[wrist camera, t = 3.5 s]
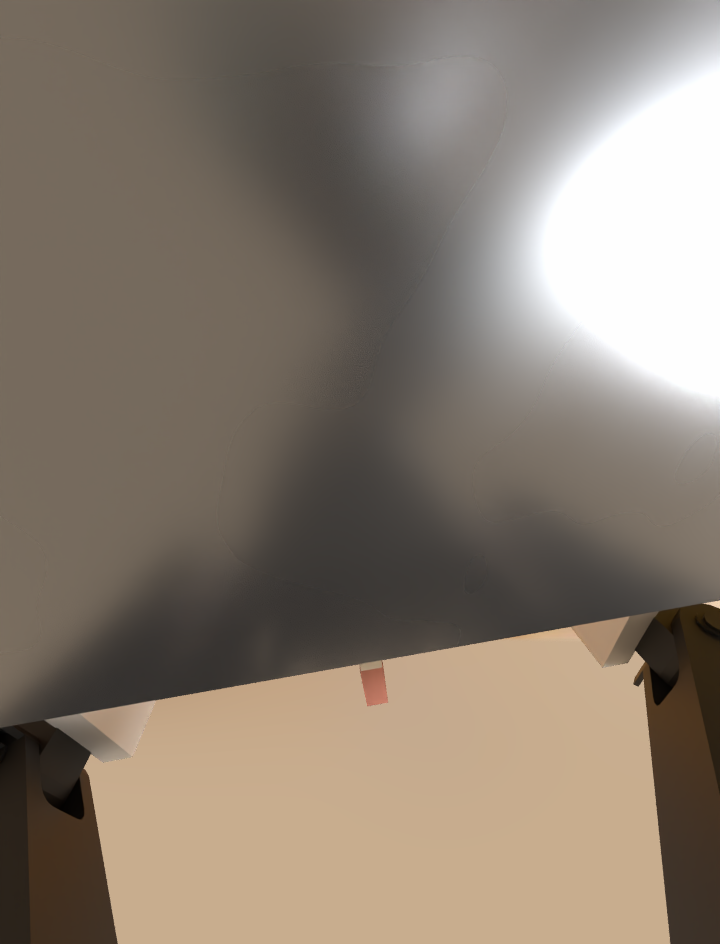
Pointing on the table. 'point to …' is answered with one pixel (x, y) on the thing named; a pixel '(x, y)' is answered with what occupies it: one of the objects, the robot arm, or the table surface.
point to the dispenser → (348, 333)
